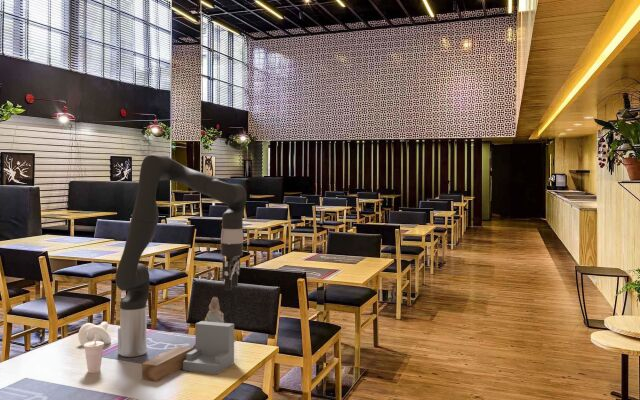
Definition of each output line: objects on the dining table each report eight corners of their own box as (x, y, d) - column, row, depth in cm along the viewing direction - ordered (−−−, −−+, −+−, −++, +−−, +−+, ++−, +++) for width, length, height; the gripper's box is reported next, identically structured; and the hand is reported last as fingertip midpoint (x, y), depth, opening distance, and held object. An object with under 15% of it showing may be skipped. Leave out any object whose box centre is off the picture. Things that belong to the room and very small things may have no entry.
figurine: (219, 346, 200) (216, 300, 194) (199, 344, 201) (196, 298, 195) (227, 334, 208) (224, 290, 202) (207, 332, 209) (205, 288, 204)
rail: (142, 380, 163) (141, 363, 163) (179, 361, 182) (179, 346, 182) (156, 382, 161) (156, 365, 161) (192, 363, 180) (192, 347, 180)
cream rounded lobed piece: (119, 344, 202) (119, 321, 202) (95, 352, 192) (95, 329, 191) (99, 340, 207) (99, 318, 207) (74, 348, 196) (74, 325, 196)
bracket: (183, 370, 172) (182, 329, 172) (201, 359, 184) (201, 320, 184) (217, 374, 168) (217, 332, 168) (234, 362, 180) (234, 323, 180)
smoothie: (108, 370, 172) (108, 329, 172) (94, 376, 166) (94, 334, 166) (93, 368, 174) (93, 327, 174) (79, 374, 168) (79, 332, 168)
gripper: (227, 239, 182) (226, 284, 182) (215, 243, 167) (214, 292, 168) (247, 239, 181) (246, 285, 181) (237, 244, 167) (236, 292, 167)
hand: (231, 288), depth 174 cm, fingers open, 8 cm apart
